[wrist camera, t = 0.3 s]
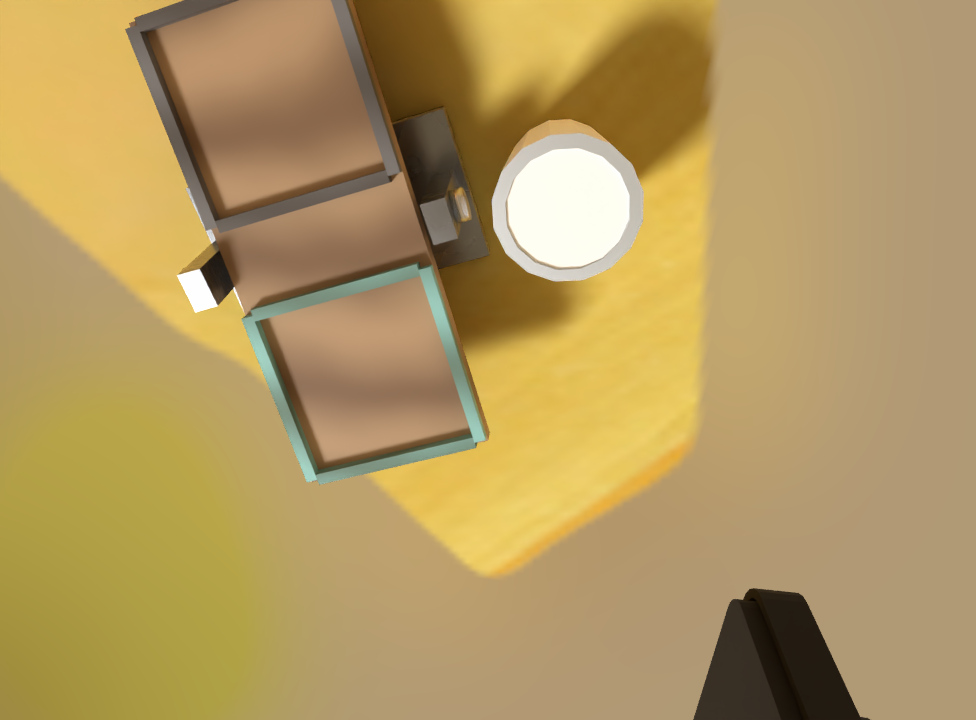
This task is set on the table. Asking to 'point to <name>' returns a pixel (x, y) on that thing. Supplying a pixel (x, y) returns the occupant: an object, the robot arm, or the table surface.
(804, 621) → the robot arm
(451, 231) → the pivot stand
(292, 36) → the balance beam board
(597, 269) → the cup of milk
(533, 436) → the table surface
